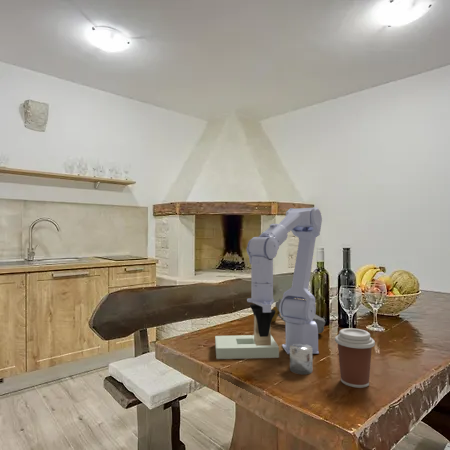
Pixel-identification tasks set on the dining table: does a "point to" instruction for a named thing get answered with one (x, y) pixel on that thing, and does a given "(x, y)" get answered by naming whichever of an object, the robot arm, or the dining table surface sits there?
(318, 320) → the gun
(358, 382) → the coffee cup
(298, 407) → the dining table surface
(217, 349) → the socket plate
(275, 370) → the dining table surface
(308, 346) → the round peg
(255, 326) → the square peg
